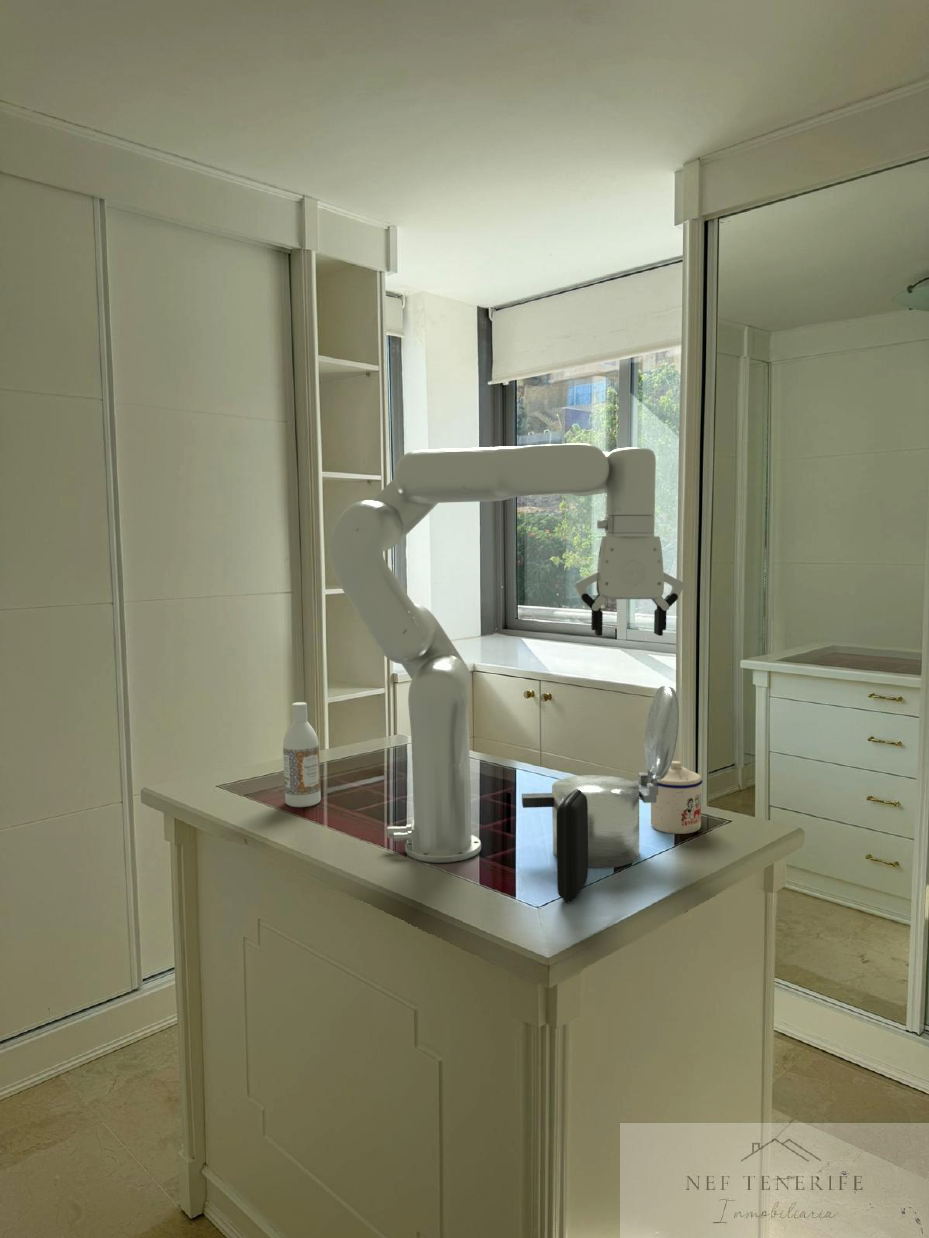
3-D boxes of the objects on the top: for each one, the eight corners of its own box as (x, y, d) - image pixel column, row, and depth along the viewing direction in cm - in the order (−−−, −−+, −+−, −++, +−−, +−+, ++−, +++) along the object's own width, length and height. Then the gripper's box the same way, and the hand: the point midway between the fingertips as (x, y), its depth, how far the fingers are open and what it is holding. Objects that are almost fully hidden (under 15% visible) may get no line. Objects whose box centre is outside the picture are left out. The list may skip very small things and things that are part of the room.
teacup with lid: (690, 838, 152) (690, 771, 150) (640, 828, 157) (640, 764, 156) (715, 819, 161) (716, 756, 160) (668, 811, 167) (668, 750, 165)
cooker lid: (676, 695, 136) (697, 698, 136) (654, 679, 151) (672, 682, 151) (658, 796, 137) (679, 799, 138) (638, 771, 152) (656, 774, 152)
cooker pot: (527, 870, 139) (525, 795, 138) (519, 839, 153) (518, 771, 151) (662, 866, 139) (662, 791, 138) (643, 836, 153) (643, 767, 152)
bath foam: (298, 810, 172) (294, 708, 170) (278, 803, 177) (274, 703, 175) (327, 802, 177) (324, 702, 175) (307, 795, 182) (304, 698, 180)
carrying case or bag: (572, 877, 135) (571, 783, 134) (592, 880, 134) (591, 784, 133) (554, 905, 125) (553, 803, 124) (576, 908, 124) (575, 805, 123)
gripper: (579, 527, 137) (577, 637, 139) (690, 527, 138) (688, 637, 139) (572, 527, 145) (571, 632, 146) (678, 527, 145) (676, 632, 147)
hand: (628, 634), depth 143 cm, fingers open, 9 cm apart
